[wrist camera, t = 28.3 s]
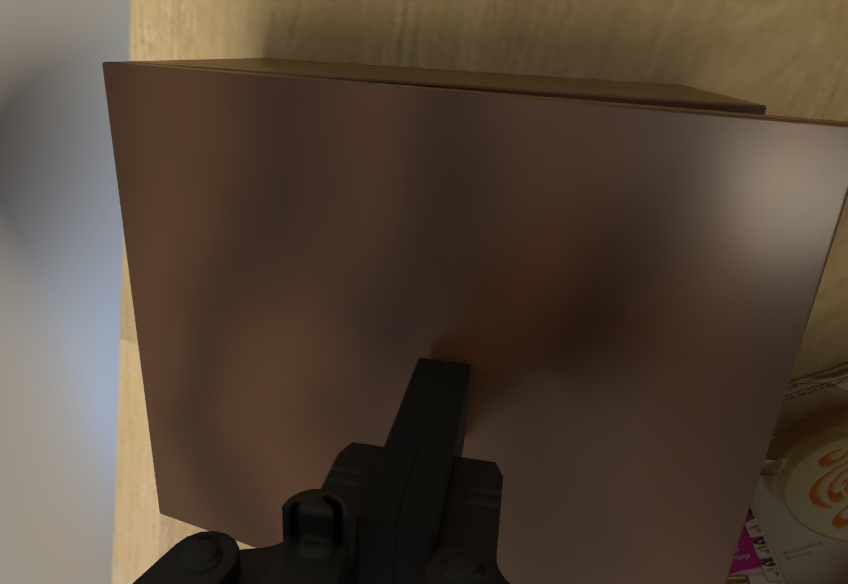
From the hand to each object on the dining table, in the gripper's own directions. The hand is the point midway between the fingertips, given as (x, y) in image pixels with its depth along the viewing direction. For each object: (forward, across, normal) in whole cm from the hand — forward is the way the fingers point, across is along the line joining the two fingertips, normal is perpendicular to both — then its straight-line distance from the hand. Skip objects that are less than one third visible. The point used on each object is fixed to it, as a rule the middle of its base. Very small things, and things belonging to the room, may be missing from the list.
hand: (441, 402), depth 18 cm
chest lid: (+2, -1, 0) cm, 2 cm away
